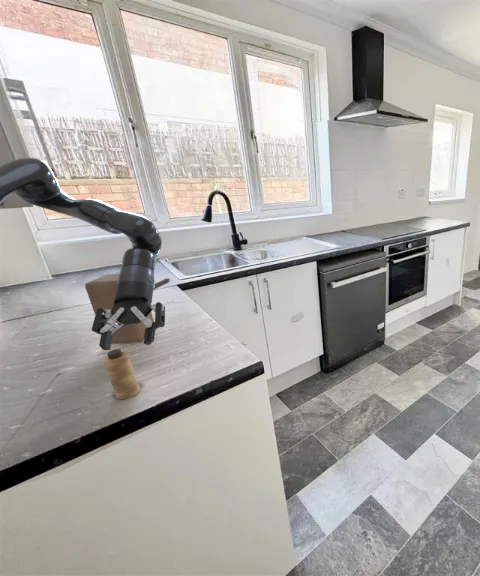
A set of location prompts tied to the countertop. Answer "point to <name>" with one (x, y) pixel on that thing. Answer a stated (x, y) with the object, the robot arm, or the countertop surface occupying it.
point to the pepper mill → (121, 374)
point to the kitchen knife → (160, 282)
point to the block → (103, 297)
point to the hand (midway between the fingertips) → (126, 346)
